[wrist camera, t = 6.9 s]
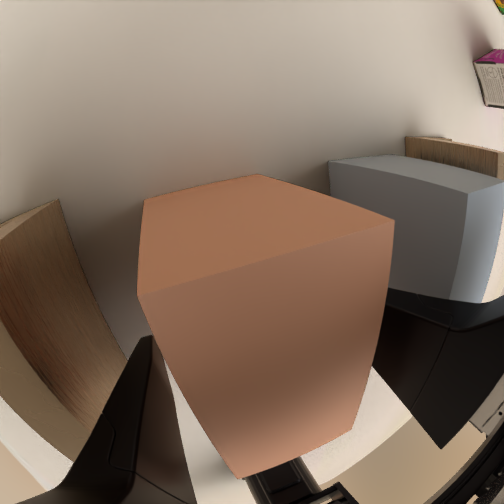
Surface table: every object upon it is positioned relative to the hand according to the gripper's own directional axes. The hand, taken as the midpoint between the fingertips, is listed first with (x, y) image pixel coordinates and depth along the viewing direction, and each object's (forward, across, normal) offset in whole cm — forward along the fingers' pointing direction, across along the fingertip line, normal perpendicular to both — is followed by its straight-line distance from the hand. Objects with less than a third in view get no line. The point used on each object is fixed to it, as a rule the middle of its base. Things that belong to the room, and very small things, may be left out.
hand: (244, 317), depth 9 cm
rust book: (+3, 0, 0) cm, 3 cm away
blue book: (+3, -8, 0) cm, 9 cm away
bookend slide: (+3, +8, 0) cm, 9 cm away
